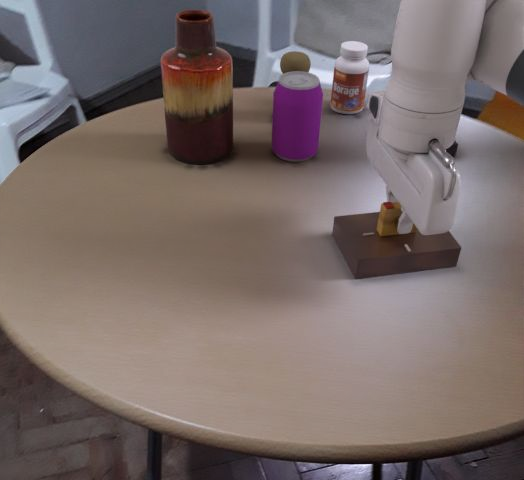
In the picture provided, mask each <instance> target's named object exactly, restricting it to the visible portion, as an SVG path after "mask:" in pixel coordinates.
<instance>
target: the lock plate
mask: <svg viewBox="0 0 524 480" xmlns="http://www.w3.org/2000/svg"><path fill="white" fill-rule="evenodd" d="M379 214H380V211H373V212H364V213H354V214H345V215H337V216H336V215H335V216H334V217H333V224H332V233H331V236H332V238H333V240H334V242H335V243H336V245H337V248H338V249H339V251H340V253H341V255H342V257H343V259H344V260H345V262H346V264H347V266H348V268H349V270H350V272H351V274H352V276H353V278H354V279H355V280H358V279H366V278H373V277H382V276H391V275H399V274H406V273H413V272H423V271H430V270H438V269H444V268H445V269H447V268H454V267H457V265H458V261H459V259H460V255H461V251H462V246H461V245H460V243H459V242H458V240H457V239H456V238H455V237H454V236H453V234H452V233H451V232H450V230H449V231H448V232H446V233H442V234H434V235H422V234H421V233H420V232H419V230H418V229H417V231H416V232H415V233H408V234H398V235H389V236H380V234H379V233H378V231H377V225H378V219H379Z"/></svg>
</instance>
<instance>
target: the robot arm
mask: <svg viewBox="0 0 524 480" xmlns="http://www.w3.org/2000/svg"><path fill="white" fill-rule="evenodd" d="M390 59H391V72H390V76H389V78H388V81H387V82H386V85H385V89H384V90H379V91H378V90H377V91H372V92H369V94H368V97H367V98H368V99H367V109H368V111H369V114H368V117H367V118H368V119H367V124H366V125H367V126H366V136H365V152H366V157H367V160H368V161H369V162H370V164H371V165H372V166H373V168H374V170H375V171H376V173H378V175H379V176H380V177H381V179H382V181H383V182H384V184H385V195H386V202H390V201H391V203H392V202H399V203H400V205H401V211H402V212H403V213H402V215H401V216H399V217H396V220H395V228H396V230H397V231H398V233H399V234H408V233H410V232H411V230H412V226H413V223H414V225H415V226H416V227H417V229H418V230H419V232H420V233H421V234H422V235H434V234H442V233H446V232H448V231H449V232H450V230H452V229H453V227H454V224H455V220H456V217H457V210H458V205H459V200H460V194H461V184H462V183H461V174H460V172H459V170H458V168H457V166H456V165H455V159H454V157H452V156H451V155H450V154H448V153H447V152H446V150H445V149H447V148H449V147H450V146H451V145H452V144H453V143H454V140H455V141H456V136H457V132H458V128H459V125H460V121H461V116H462V112H463V108H464V106H465V105H464V104H465V100H466V84H467V83H469V82H472V81H475V82H477V83H479V84H481V85H482V86H485V87H487V88H490V89H491V90H494V91H496V92H498V93H500V94H503V95H505V96H506V97H508V98H509V99H510V100H511V101H513V102H515V103H517V104H518V105H519V106H522V107H523V108H524V0H401V1H400V4H399V7H398V11H397V16H396V19H395V26H394V30H393V36H392V43H391V49H390Z"/></svg>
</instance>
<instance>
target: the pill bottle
mask: <svg viewBox="0 0 524 480" xmlns="http://www.w3.org/2000/svg"><path fill="white" fill-rule="evenodd" d="M368 49H369V47H368V45H367V44H366V43H365V42H361V41H357V40H356V41H355V40H347V41H343V42H341V45H340V49H339V53H340V56H338V57H337V58H336V59H335V61H334V67H333V74H332V75H333V77H332V85H331V94H330V105H329V106H330V108H331V109H332V111H334V112H336V113H337V114H341V115H355V114H359V113H361V112H362V111H363V110H364V106H365V99H366V94H367V93H366V92H367V86H368V80H369V72H370V65H371V64H370V62H369V59H368V58H367V56H368Z"/></svg>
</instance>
